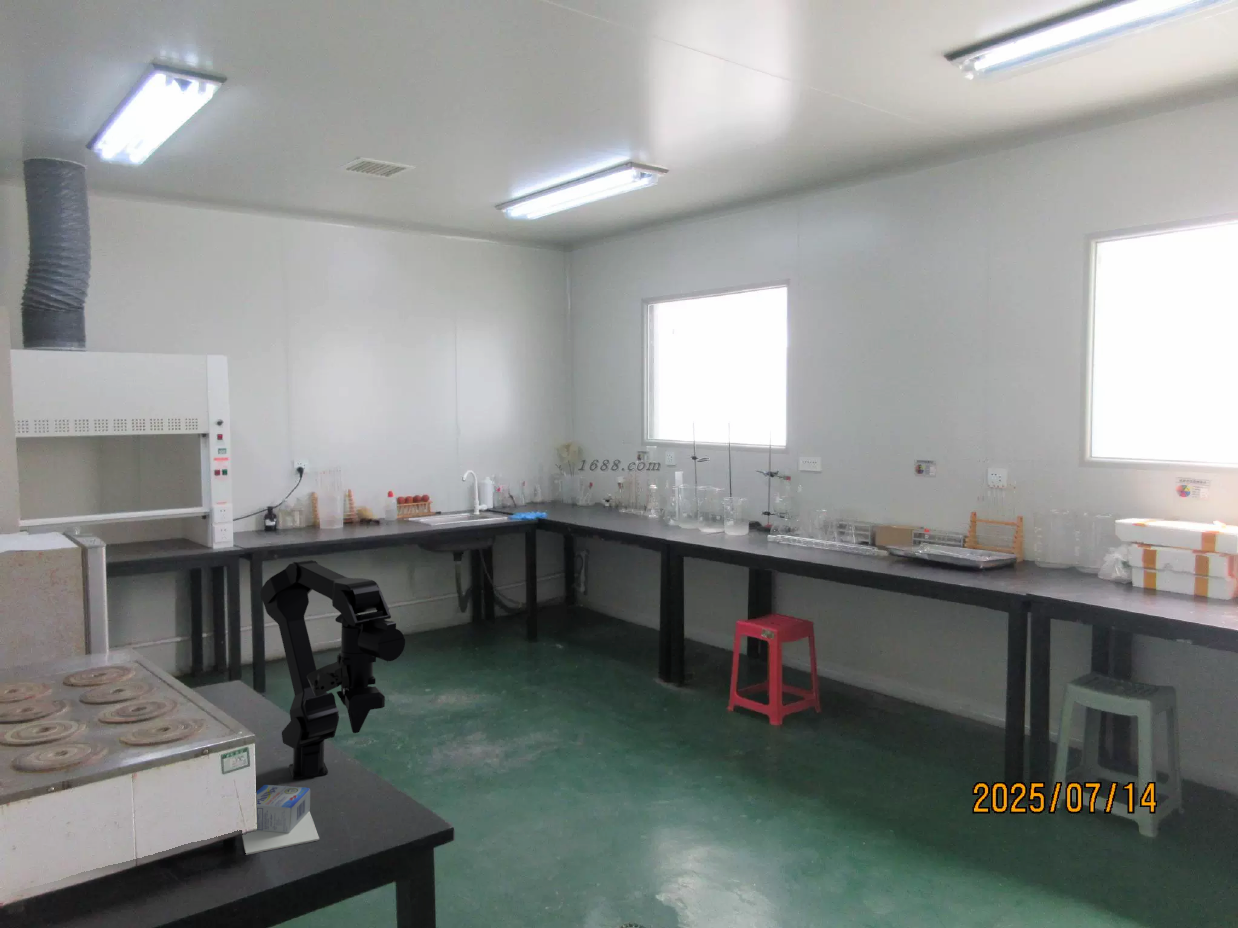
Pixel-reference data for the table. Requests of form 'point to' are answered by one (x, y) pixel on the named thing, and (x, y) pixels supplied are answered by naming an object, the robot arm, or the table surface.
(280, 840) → the mat
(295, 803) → the medicine box
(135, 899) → the table surface
